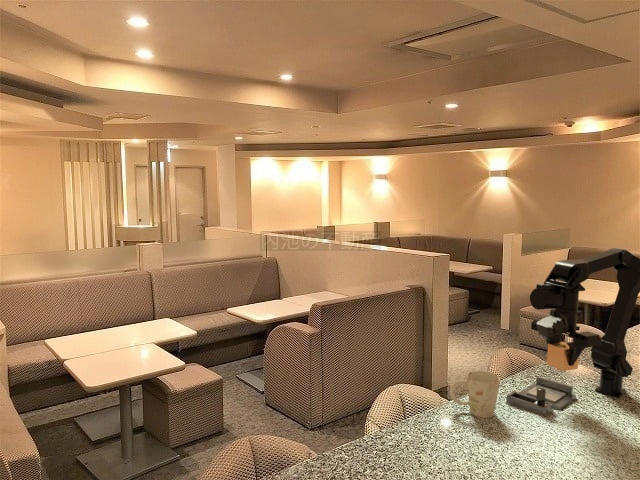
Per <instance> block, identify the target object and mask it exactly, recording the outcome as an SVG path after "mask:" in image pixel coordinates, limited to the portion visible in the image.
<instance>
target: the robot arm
mask: <svg viewBox="0 0 640 480" xmlns="http://www.w3.org/2000/svg"><path fill="white" fill-rule="evenodd" d="M553 266H554V267H552V269H551V270H550V273H549V274H548V275H547V277H546V279H545V280H544V282H543V283H536V286H535V287H536V288H534V289H532V291H531V293H530V295H529V302H530V304H531V306H532V308H534V309H535V310H539V311H542V310H550V312H549V315H548V316H546V317H544V318H535V319H532V321H531V323H530V329H531V330H533V331H536V332H538V334H539V335H540V336H542V337H543V338H544V340H545V341H546V344H547V345H548V344H549V343H557V342H561V338H562V337H561V336H565V337H568V338H571V339H572V341H568V342H566V343H567V345H568V346H569V348H570V349H569V366H573V365H574V363H575V362H576V360H577V359H578V357H580V356H581V354H582V352H583V351H584V350H585V349H586V348H587V349H588V348H591V349H590V350H589V351H590V358H591V359H592V360H591V361H592V364H593V367H594V368H597V370H598V369H599V370H600V377H599V385H598V386H597V387H595V389H594V391H595V392H598V393H602V394H606V395H607V396H608V395H609V396H613V397H616V398H620V397H622V396H623V395H624V394H625V393H626V392H627V389H624V388H623V384H624V383H623V382H624V378H629V376H631V375H632V373H633V367H632V366H631V364H630V363H629V362H628V360H627V354H628V350H627V347H626V343H625V338H626V336H627V332H628V328H629V326H630V322H631V319H632V317H633V316H632V315H633V314H634V309H635V306H636V303H637V300H638V298H639V294H640V258H639V257H638V256H636V255H634V254H632V252H630V251H628V250H627V249H623V248H614V247H613V248H610V249H608V250H606V251H602V252H600V253H596V254H594V255H591V256H587V257H584V258H582V259H565V260H563V259H562V260H558V261H557V262H555V263H554V265H553ZM610 268H612V269H613V270H615V271H616V275H615V277H616V281H617V285H618V290H617V291H618V292H617V294H616V298H615V301H614V304H613V307H612V311H611V313H610V316H609V320H608V323H607V326H606V330H605V332H604V335H602V336H600V334H597V333H594V332H590V331H582V332H581V331H580V327H581V326H580V325H577V324H578V323H577V322H578V317H581V313H582V312H581V311H579V310H578V308H579V299H580V298H579V296H580V292H585V291H586V288H585V287H584V286H583V285H582V283H584V282H585V281H587V280H588V279H589V277H590V276H591V275H593V274H595V273H599V272H601V271H603V270H607V269H610ZM577 331H580V332H577ZM578 360H579V359H578Z"/></svg>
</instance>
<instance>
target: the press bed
mask: <svg viewBox="0 0 640 480" xmlns="http://www.w3.org/2000/svg"><path fill="white" fill-rule="evenodd" d="M535 380H536V381H535V382H533V383H532V384H530V385H529V386H527V387H525V388H524V389H522V390H520V391H519V392H518V393H520V394H523V395H526V396H529V397H532V398H535V399H536V394H537V388H544V389H545V390H546V395H545V402H548V403H553V409H555V410H559V411H561V410H562V409H563V408H565V407H566V406H568V405H569V404H571V402H573V401H574V400H575V399H577V395H575V394H573V391H574V386H573V385H570V384H565V383H563V382H559V381H556V380H551V379H548V378H544V377H541V376H536V379H535Z"/></svg>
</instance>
